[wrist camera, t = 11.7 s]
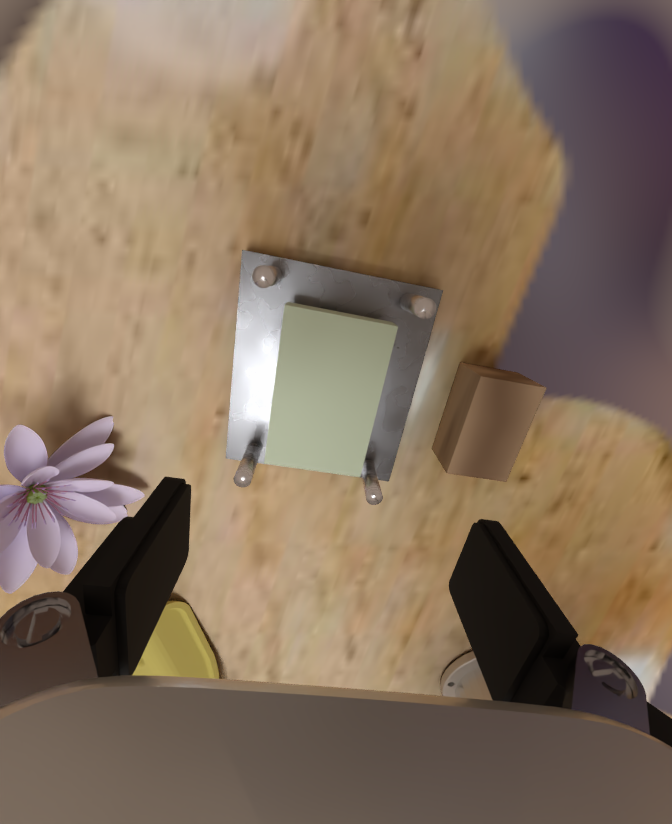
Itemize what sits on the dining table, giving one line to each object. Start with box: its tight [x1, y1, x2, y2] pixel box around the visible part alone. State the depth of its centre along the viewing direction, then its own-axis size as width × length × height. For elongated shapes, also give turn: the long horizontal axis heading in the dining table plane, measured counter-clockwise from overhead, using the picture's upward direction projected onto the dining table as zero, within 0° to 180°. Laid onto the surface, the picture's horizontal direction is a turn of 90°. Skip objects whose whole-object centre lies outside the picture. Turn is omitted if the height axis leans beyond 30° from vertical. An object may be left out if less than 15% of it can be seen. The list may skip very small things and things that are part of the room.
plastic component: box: [132, 601, 219, 679], centre depth 39 cm, size 20×7×10 cm
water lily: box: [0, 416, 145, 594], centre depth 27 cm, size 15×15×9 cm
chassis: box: [226, 250, 443, 505], centre depth 25 cm, size 14×16×6 cm
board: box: [264, 302, 398, 477], centre depth 24 cm, size 7×11×2 cm, turn 169°
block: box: [432, 362, 546, 482], centre depth 28 cm, size 5×8×4 cm, turn 169°
